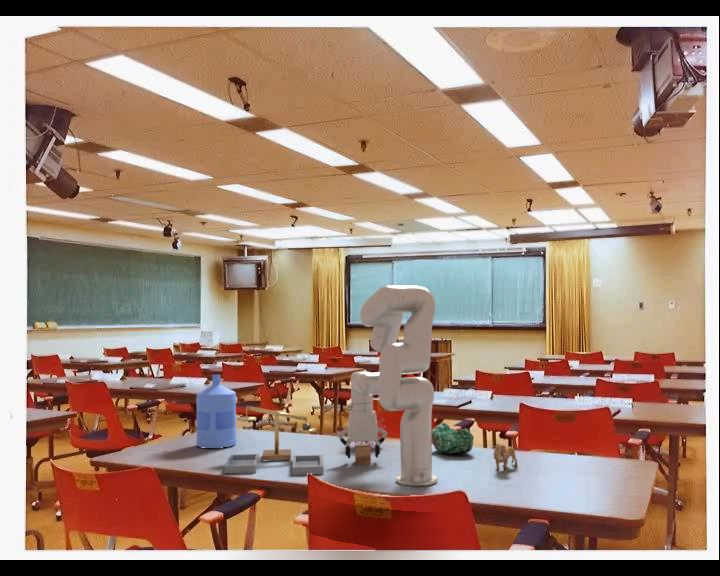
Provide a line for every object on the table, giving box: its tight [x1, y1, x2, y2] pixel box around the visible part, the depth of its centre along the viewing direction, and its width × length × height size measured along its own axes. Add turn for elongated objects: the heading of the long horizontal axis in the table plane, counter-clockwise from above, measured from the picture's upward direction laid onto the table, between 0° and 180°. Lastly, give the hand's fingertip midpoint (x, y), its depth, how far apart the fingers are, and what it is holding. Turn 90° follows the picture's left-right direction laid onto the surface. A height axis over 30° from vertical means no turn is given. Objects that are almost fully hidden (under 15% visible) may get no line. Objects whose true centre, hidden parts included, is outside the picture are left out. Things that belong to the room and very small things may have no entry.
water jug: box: [195, 374, 237, 448], centre depth 264 cm, size 16×16×28 cm
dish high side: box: [224, 453, 260, 474], centre depth 225 cm, size 18×10×2 cm, turn 5°
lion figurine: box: [493, 443, 518, 472], centre depth 217 cm, size 15×5×9 cm, turn 152°
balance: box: [236, 405, 317, 461], centre depth 239 cm, size 10×28×19 cm, turn 95°
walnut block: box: [354, 443, 372, 466], centre depth 229 cm, size 5×5×6 cm
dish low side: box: [291, 454, 325, 476], centre depth 222 cm, size 18×10×2 cm, turn 5°
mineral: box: [431, 422, 474, 455], centre depth 244 cm, size 18×16×10 cm
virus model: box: [354, 409, 387, 447], centre depth 257 cm, size 15×15×15 cm
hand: (362, 457), depth 229 cm, fingers open, 9 cm apart
